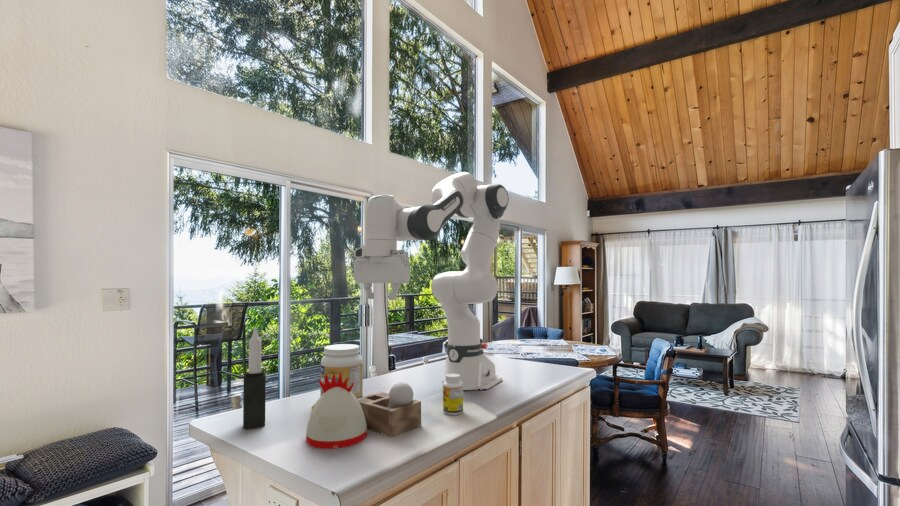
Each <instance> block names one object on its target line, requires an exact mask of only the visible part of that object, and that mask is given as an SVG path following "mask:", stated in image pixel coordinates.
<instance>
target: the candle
mask: <svg viewBox="0 0 900 506" xmlns="http://www.w3.org/2000/svg"><path fill="white" fill-rule="evenodd" d="M257 329H258V328H257V327H256V326H254V327H253V332H252V334H251V337H250V339H249V340H248V371H246V372H245V373H244V375H243V402H242V403H243V405H242V407H243V408H242V409H243V411H242V412H243V413H242V416H243V418H242V419H243V420H242V430H253V429H261V428H264V427H266V391H267V390H266V386H267V385H266V380H267V378H266V377H267V375H266V372H265V371H264V370H262V339H261V338H260V336H259V332H258V330H257Z"/></svg>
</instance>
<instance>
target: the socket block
mask: <svg viewBox="0 0 900 506" xmlns="http://www.w3.org/2000/svg"><path fill="white" fill-rule="evenodd" d="M357 400H358V401H359V403H360V405H361V407H362V410H363V413H364V416H365V420H366V424H367V430H369V431H372V432H376V433H378V432H379V434H381V433H383V434H382V435H384V434H385V435H384V436H388V437H391V438H394V437H396V436H398V435H401V434H403V433H406V432H409V431H411V430H413V429H416V428H418V427H420V426H421V427H422V401H421V400H416V399H414V398H413V399H412V401H411V403H409V404H406V405H403V406H400V407H397V408H394V409H391V408H388V405H389V392H384V391H378V392H375V393H371V394H368V395H365V396H363V397H361V398H357Z"/></svg>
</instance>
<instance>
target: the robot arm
mask: <svg viewBox="0 0 900 506" xmlns="http://www.w3.org/2000/svg"><path fill="white" fill-rule="evenodd" d="M509 200H510V199H509V193H508V191H507V189H506V187H505V186H503V184H500V183H490V184H484V185H483V184H482V185H478V181H477V179H476V178H475V176H474V175H473V174H471V173H470V172H468V171H467V172H466V171H462V172H458V173H455V174H454V173H453V174H452V175H450V176H447V177H446V178H444V179H442V180H441V181H439V182H438V183H437V184H436V185H435V186H434V187H433V188H432V189H431V201H432V204H423V205H420V206H413V207H408V208H407V207H405V206H403V205H401V204H400V203H398V201H397V199H396V198H395V196H394V195H392V194H380V195H373V196H371V197H370V198H368V200H367V203H366V207H365V229H366V236H365V244H363V245H361V246H360V247H359V248H357V249H355V250H354V251H353V257H354V258H355V259H354V262H353V281H355V284H362V285H363V289H364V292H365V294H366V295H365V296H366V297H365V298H366V299H367V300H374V299H375V292H373V290H372V287H373V284H390V288H391V292H390V293H388V300H389V301H396V300H397V299H398V293H399V291H400V288H401V284H409V283H410V281H411V270H410V269H411V268H410V261H409V255H408V253H407V252H406V251H405V250H404V249H399V250H398V249H397V248H398V246H397V245H398V244H397V241H398V242H404V241H406V242H409V241H431V240H433V239H436V237H437V236H439V233H440V232H441V230H442V228H443V226H445V224H446V222H448V221H450V219H451V218H452V217H453V216H455V214H456V215H457V216H458V217H460V218H467V219H468V218H473V222H472V226H471V227H470V229H469V231H468V232H467V235H466V238H465V241H464V243H463V245H462V247H461V250H460V257H461V260H462V262H463V263H464V264H465V265H466V266H465V269H463V270H461V271H460V270H454V271H452V270H451V271H443V272H440V273H437V274H436V275H435V276H434V277H433V279H432V281H431V293H432V295H433V297H434V298H435V299H436V300H437V301H438V302H439V304H440V306H441V307H442V308H443V311H444V314H445V318H446V323H447V324H446V325H447V344H446V355H447V357H446V359H445V366H444V377H443V378H442V383H444V382H445V381H446V375H447V374H459V375H460V381H461V382H462V383H463V391H473V390H475V391H476V390H478V389H480V390H483V389H486V390H489V389H490V388H492V387H494V386H495V385H497V384H499V383H500V382H501V381H503V377H502V376H500V375H497V374H496V365H495V363H494V362H493V361H492V360H491V359H490V358H489V357H487V355H485V354H484V350H487V349H488V344H487V343H484V342H481V323H480V320H479V318H478V316H476V315H474V314H473V312H472V311H471V309H470V307H469V304H474V305H475V304H477V305H478V304H484V303H488V302H489V303H490V302H492V301H493V300H494V299H495V298H496V296H497V294H498V291H499V290H498V289H499V286H498V280H497V279H496V277H495V276H494V274H493V273H492V272H491V261H492V257H493V254H494V252H495V249H496V246H497V243H498V240H499V235H500V229H501V224H500V221H499V219H500V218H502V216H503V215H504V213H505V211H506V209H507V207H508V205H509ZM480 390H479V391H480Z"/></svg>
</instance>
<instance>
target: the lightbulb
mask: <svg viewBox="0 0 900 506" xmlns="http://www.w3.org/2000/svg"><path fill="white" fill-rule="evenodd" d="M388 394H389V405H388V408H391V409H394V408H397V407H400V406H403V405H406V404H409V403H411V401H412V399H413V400H414V391H413V388H412V386H411V385H409V384H408V383H407V382H396V383H394V384H393V385H392V386H391V388H390V389H389V392H388Z"/></svg>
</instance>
